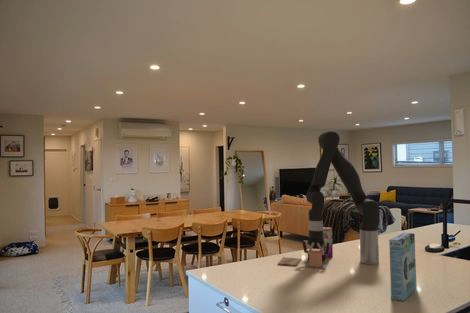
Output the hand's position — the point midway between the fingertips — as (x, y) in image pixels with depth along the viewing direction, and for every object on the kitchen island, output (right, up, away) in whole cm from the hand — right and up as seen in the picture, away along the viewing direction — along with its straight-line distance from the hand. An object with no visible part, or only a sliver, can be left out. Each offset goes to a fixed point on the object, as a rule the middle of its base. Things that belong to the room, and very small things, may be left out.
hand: (316, 261), depth 189 cm
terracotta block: (0, -2, 0) cm, 2 cm away
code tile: (0, -2, 0) cm, 2 cm away
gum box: (+26, -1, -43) cm, 50 cm away
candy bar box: (+7, -2, +16) cm, 18 cm away
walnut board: (-13, -2, +5) cm, 14 cm away
